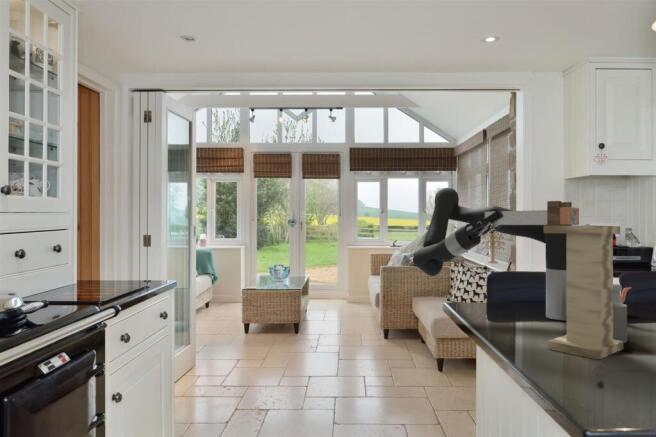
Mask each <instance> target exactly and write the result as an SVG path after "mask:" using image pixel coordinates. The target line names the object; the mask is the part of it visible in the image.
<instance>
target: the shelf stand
mask: <svg viewBox="0 0 656 437" xmlns="http://www.w3.org/2000/svg"><path fill="white" fill-rule="evenodd" d="M546 202H547V203H546V205H547V206H546V208H547V209H546V210H547V226H544V233H567V320H566V334H565V335H561V336H559V337H555V338H552V339H549V340H547V349H548V350H552V351H556V352H562V353H566V354H570V355H575V356H579V357H583V356H584V357H585V358H589V359H594V360H597V359H598V361H599V359H600V360H601V359H604V358H607V357H609V356H611V355H613V354H615V353H618V352H620V351H622V350H624V343H623V341H619V340H613V284H614V248H613V247H614V244H613V243H614V238H613V237H614V235H620V234H621V226H619V225H559V207H572V208H573V206H572V205H573V204H572V201H563V202H562V201H561V200H550V201H549V200H548V201H546ZM617 351H618V352H617ZM608 355H609V356H608Z"/></svg>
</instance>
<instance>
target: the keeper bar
mask: <svg viewBox="0 0 656 437" xmlns="http://www.w3.org/2000/svg"><path fill="white" fill-rule="evenodd" d="M494 212H496V211H494ZM494 212H485V217H486V216H490V215H491V214H493V213H494ZM500 213H501V215H502V217H501V218H499V219H498V220H496V221H494V222H493V223H491V224H490V225H547V209H541V210H513V211H500ZM559 225H572V226H580V208H579V207H573V206H572V207H559Z"/></svg>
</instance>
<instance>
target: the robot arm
mask: <svg viewBox="0 0 656 437" xmlns="http://www.w3.org/2000/svg"><path fill="white" fill-rule="evenodd" d="M459 203H460V202H459V193H458V192H457V191H456V190H455V189H454V188H452V187H443V188H441V189H439V190H438V191H437V192H436V193H435V196H434V208H433V213H432V217H431V220H430V223H429V224H428V225H429V226H428V229H427V232H426V235H425V237H424V241H423V244H422V248H419V249H418V250H417V251H416V252H415V253H414V254H413V257H412V262H413V265H414V266H416V267H417V268H418V269H419V270H421V271H422V272H423V273H425V274H426V275H427V276H429V277H436V276H438V274H440V273H441V271H442V269H443V265H444V263H449V262H450V261H452V260H453V259H455V258H457V257H458V256H460V255H463V254H465V253H466V252H468V251H469V250H472V249H473V248H475V247H476V246H478V245H479V244H480V243H482V242H481V241H482V236H483V237H484V236H486V235H488V234H489V233H490V234H494V233H496V232H498V233H502V234H505V235H510V236H515V237H521V238H523V237H524V238H528V239H532V240H534V241H537V242H540V243H543V244H545V317H546V318H548V319H551V320H557V321H567V233H544V226H547V225H490V224H491V223H493V222H494V221H496V220H498V219H499V218H501V217H502V215H501V213H500V211H514V210H513V209H509V208H506V207H501V206H498V205H488V206H483V207H478V208H470V207H464V206H462V205H459ZM494 211H496V212H494ZM485 212H494V213H493V214H491V215H490V216H486V217H485ZM450 220H451V221H456V222H460V223H465V224H464V225H462V226H461V227H460V228H458V229H456V230H455V231H453V232H452V233H450V234H449V235H448V236H447V233H448V225H449V221H450Z"/></svg>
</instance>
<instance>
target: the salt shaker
mask: <svg viewBox="0 0 656 437" xmlns="http://www.w3.org/2000/svg"><path fill="white" fill-rule="evenodd" d="M622 291H623V287H622V285H621V284H619V283H613V302H615V303H621V304H623V303H622V300H621V292H622Z"/></svg>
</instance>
